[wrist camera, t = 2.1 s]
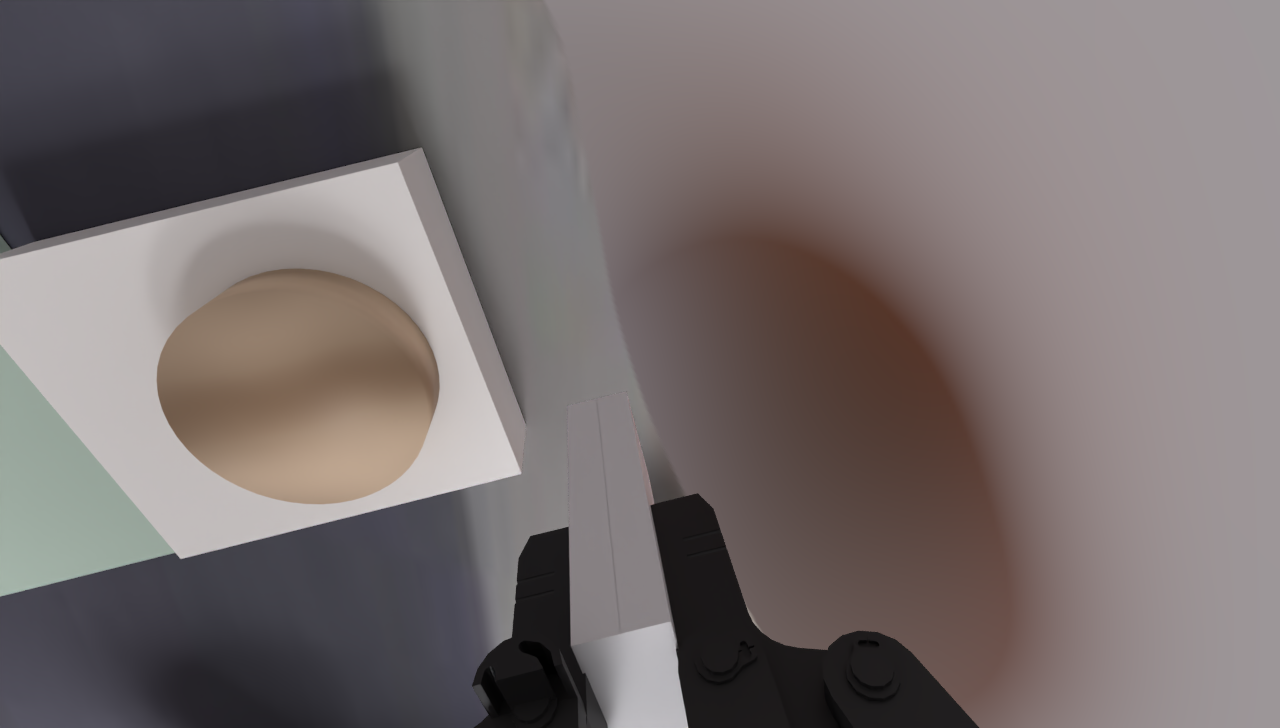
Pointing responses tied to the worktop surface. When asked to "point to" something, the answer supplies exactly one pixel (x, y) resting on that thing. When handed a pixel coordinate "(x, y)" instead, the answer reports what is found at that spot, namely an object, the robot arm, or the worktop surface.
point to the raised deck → (207, 266)
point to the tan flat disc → (300, 386)
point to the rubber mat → (58, 496)
